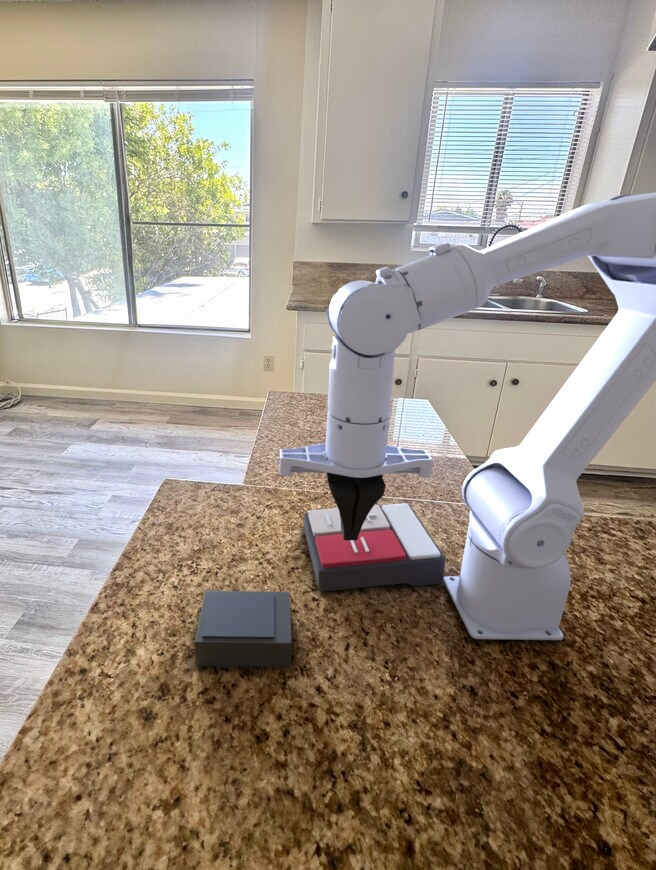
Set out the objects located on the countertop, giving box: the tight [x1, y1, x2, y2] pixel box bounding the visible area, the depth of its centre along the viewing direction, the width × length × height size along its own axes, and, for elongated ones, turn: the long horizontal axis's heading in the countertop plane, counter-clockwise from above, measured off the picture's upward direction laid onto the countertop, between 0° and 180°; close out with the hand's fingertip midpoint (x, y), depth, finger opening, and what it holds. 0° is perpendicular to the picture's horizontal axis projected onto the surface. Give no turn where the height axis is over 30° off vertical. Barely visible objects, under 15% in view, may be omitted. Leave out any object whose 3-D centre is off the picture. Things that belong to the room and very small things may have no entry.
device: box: [194, 590, 293, 668], centre depth 42 cm, size 3×6×9 cm
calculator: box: [303, 502, 446, 593], centre depth 53 cm, size 11×4×15 cm
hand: (348, 533), depth 43 cm, fingers closed
